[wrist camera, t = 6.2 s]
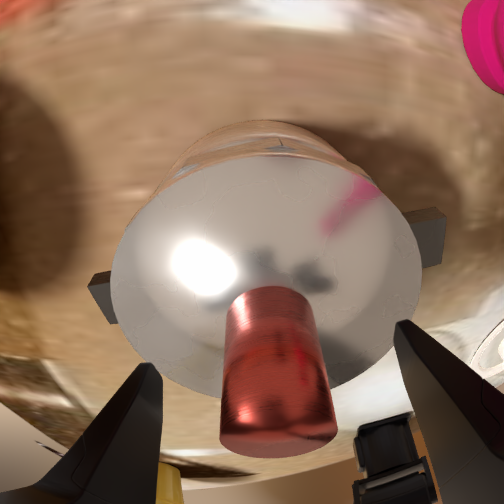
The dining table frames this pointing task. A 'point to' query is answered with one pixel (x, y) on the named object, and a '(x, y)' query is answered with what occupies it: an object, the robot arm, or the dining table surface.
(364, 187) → the lid
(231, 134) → the pot
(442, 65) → the dining table surface
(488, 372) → the candle holder
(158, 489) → the plant pot
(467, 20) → the pepper mill
